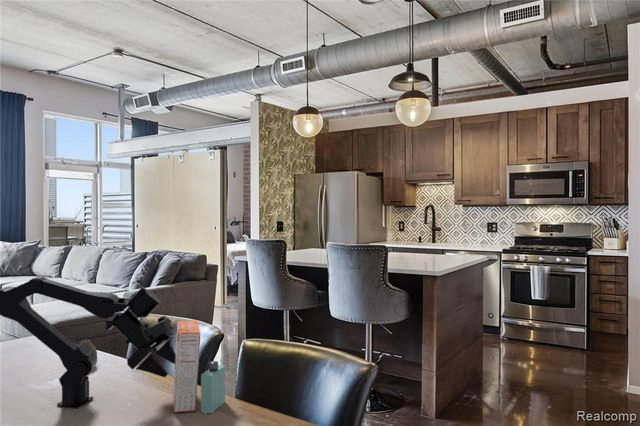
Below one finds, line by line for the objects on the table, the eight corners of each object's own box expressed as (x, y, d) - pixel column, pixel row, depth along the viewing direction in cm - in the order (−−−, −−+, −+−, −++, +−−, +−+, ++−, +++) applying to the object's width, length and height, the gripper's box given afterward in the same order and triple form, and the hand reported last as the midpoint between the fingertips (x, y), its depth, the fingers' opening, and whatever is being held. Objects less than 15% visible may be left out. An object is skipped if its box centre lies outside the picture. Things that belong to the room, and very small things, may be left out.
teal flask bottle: (211, 414, 122) (211, 368, 122) (201, 412, 122) (201, 367, 122) (225, 401, 129) (225, 358, 129) (215, 400, 130) (215, 357, 130)
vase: (101, 363, 160) (101, 338, 160) (89, 370, 153) (89, 343, 153) (82, 362, 160) (82, 337, 160) (69, 369, 154) (69, 343, 154)
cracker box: (171, 392, 134) (177, 319, 135) (193, 391, 136) (198, 319, 136) (171, 413, 121) (177, 332, 121) (196, 412, 123) (201, 332, 123)
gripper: (138, 317, 121) (181, 361, 121) (165, 302, 140) (202, 339, 139) (108, 347, 121) (151, 390, 121) (140, 328, 140) (177, 365, 140)
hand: (172, 369), depth 130 cm, fingers open, 9 cm apart
